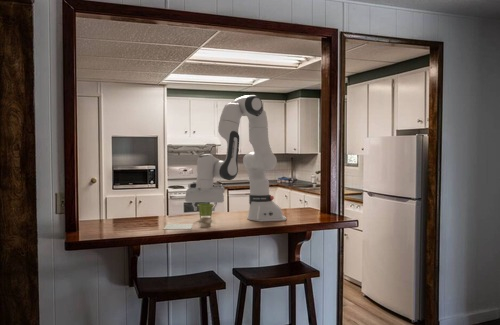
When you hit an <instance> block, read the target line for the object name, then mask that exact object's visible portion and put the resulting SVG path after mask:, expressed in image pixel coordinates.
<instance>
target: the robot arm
mask: <svg viewBox="0 0 500 325" xmlns="http://www.w3.org/2000/svg"><path fill="white" fill-rule="evenodd" d="M267 116H268V115H267V112H266V110H264V106H263V101H262V99H261V97H260V96H258V95H255V94H250V95H249V94H248V95H243V96H240V97H236V98H234V99H233V100H231V102H229V103H226V104H225V105H224V107H223V109H222V111H221V115H220V116H219V122H218V127H217V128H218V130H217V131H218V134H219V136H220V137H221V138H222V139H224V140H225V141H226V146H227V148H226V155H225V159H224V160H222V159H221V160H220V159H219V158H217V157H215V156H214V155H213V154H212V153H204V154H203V153H202V154H200V155H199V156H198V157H197V162H196V173H197V175H196V181H193V182H190V183H188V185H187V189H186V192H185V197H184V198H185V199H184V201H185V202H186V203H191V205H192V207H193V211H196V212H197V210H198V206H195V205H196V203H214V204H213V205H214V206H213V207H212V212H215V210H216V209H215V208H216V207H217V205H218V203H223V202H224V201H225V199H224V194H225V190H226V187H225V186H224V185H222V184H214V178H215V179H216V178H217V179H222V180H226V181H232V180H233V179H235V178H236V177H237V176H238V173H239V164H238V159H239V150H240V134H239V127H240V122H241V118H242V117H247V119H248V142H249V143H250V145H251V146H252V149H253V151H251V152H248V153H246V154H245V155H243V158H242V163H243V166H244V167H245V169H246V172H247V175H248V179H249V196H248V203H249V209H248V215H247V218H246V219H247V220H250V221H256V222H278V221H280V222H281V221H286V220H287V217H286V215H283V210H282V208H281V207H280V205H278V204H277V203H275V202H274V201H273V200H274V199H275V197H274V195H272V194H270V181H269V179H268V178H267V176H266V172H268V171H271V170H274V169H276V168H275V167H276V166H277V163H278V161H277V156H276V155H275V154H274V153H273V151H272V148H271V144H270V141H269V126H268V125H269V124H268V122H269V121H268V117H267Z"/></svg>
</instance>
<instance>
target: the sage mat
mask: <svg viewBox="0 0 500 325" xmlns="http://www.w3.org/2000/svg"><path fill="white" fill-rule="evenodd" d="M193 226H194V224H193V223H167V224H166V225H165V226H164V227H163V230H192V228H193Z"/></svg>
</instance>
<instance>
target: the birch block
mask: <svg viewBox="0 0 500 325" xmlns="http://www.w3.org/2000/svg"><path fill="white" fill-rule="evenodd" d="M211 222H212V215H211V216H201V220H200V228H206V227H207V228H211Z"/></svg>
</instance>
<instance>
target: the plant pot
mask: <svg viewBox="0 0 500 325" xmlns="http://www.w3.org/2000/svg"><path fill="white" fill-rule="evenodd" d="M214 206H215V205H214V204H213V203H199V204H197V206H196V207H197V209H198V213H199V220H200V221H201V216H211V217H212V215H213V211H212V207H214Z"/></svg>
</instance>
